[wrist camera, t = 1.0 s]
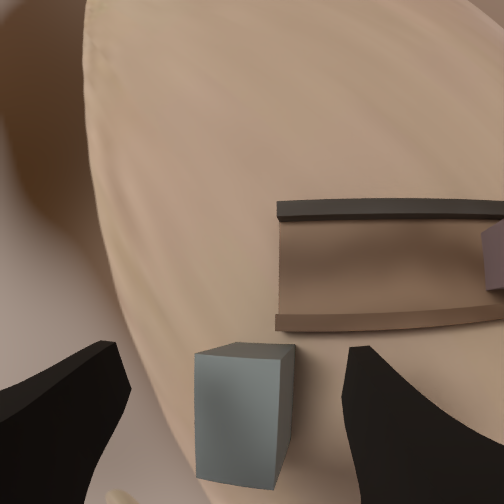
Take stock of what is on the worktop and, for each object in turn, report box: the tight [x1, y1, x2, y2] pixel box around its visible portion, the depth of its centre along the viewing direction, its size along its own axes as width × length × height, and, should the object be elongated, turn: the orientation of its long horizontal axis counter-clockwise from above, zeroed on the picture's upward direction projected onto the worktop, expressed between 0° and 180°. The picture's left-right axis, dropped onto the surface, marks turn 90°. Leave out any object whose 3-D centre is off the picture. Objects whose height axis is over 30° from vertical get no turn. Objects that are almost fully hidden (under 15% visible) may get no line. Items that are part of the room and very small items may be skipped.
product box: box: [194, 342, 295, 490], centre depth 16 cm, size 4×7×7 cm, turn 179°
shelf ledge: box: [275, 198, 504, 331], centre depth 17 cm, size 8×22×2 cm, turn 89°
